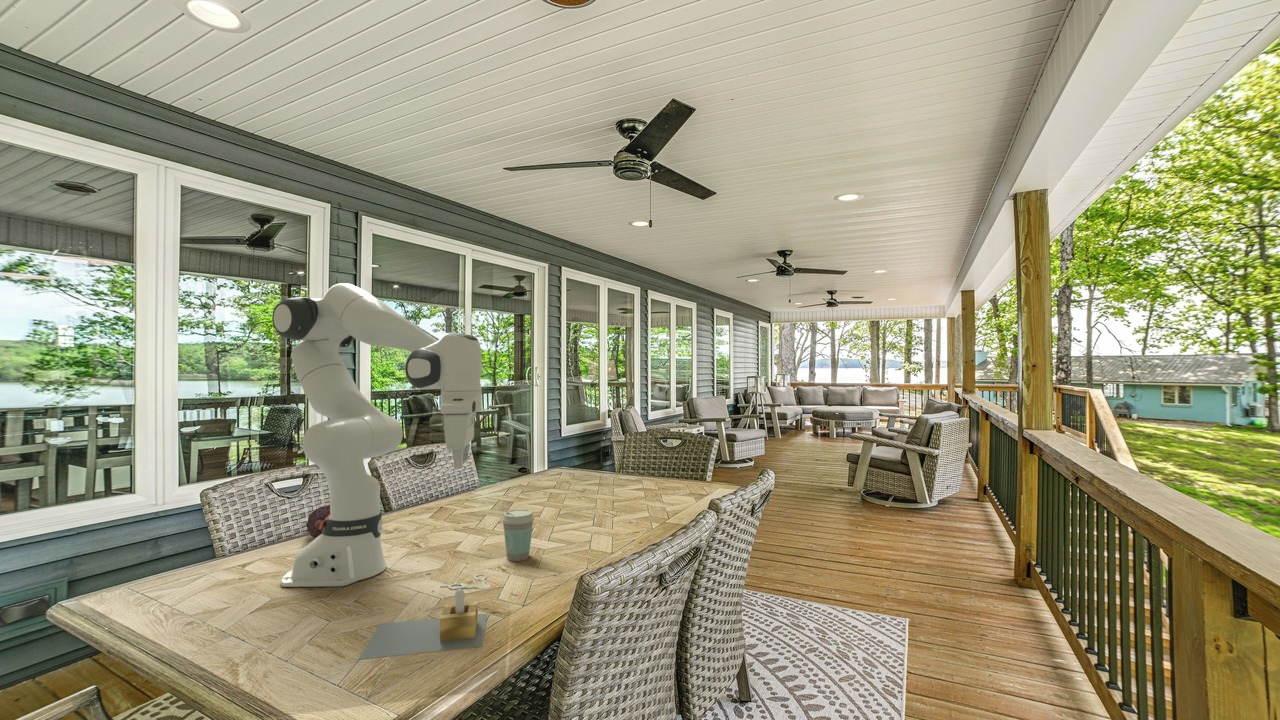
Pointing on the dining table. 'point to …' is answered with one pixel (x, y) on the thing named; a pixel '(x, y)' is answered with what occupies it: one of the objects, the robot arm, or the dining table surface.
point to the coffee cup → (517, 533)
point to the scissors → (470, 587)
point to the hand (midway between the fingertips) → (461, 464)
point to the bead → (459, 622)
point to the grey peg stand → (420, 636)
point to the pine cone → (317, 520)
